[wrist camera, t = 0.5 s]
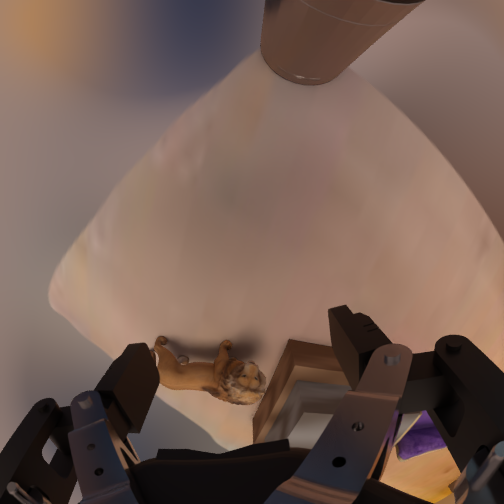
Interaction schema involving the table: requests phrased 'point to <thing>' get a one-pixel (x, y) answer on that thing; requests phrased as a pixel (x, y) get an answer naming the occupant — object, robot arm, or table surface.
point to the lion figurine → (211, 375)
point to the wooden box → (304, 397)
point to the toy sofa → (419, 439)
